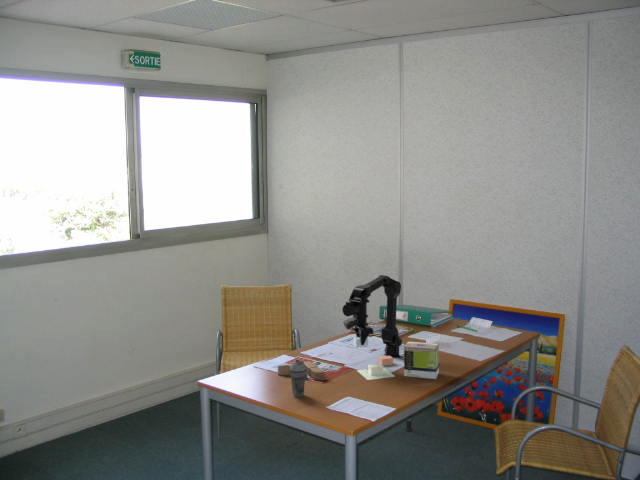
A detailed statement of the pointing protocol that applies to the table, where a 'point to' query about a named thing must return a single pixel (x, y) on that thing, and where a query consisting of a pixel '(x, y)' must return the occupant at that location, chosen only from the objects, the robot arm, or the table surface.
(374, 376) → the baseplate
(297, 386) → the beverage cup
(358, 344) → the brick blue
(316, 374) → the wooden block set
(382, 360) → the brick rust
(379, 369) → the brick cream
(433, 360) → the tea box
